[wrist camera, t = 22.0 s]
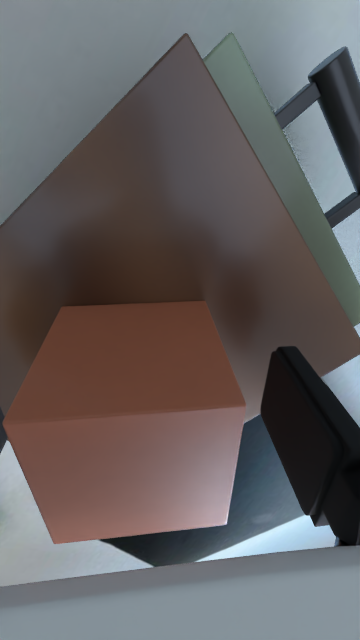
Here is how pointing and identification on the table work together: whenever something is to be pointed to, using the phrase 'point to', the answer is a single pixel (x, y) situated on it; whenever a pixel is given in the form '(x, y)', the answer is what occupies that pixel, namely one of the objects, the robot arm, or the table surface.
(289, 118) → the drawer
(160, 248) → the cabinet
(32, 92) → the table surface
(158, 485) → the block
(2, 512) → the table surface
